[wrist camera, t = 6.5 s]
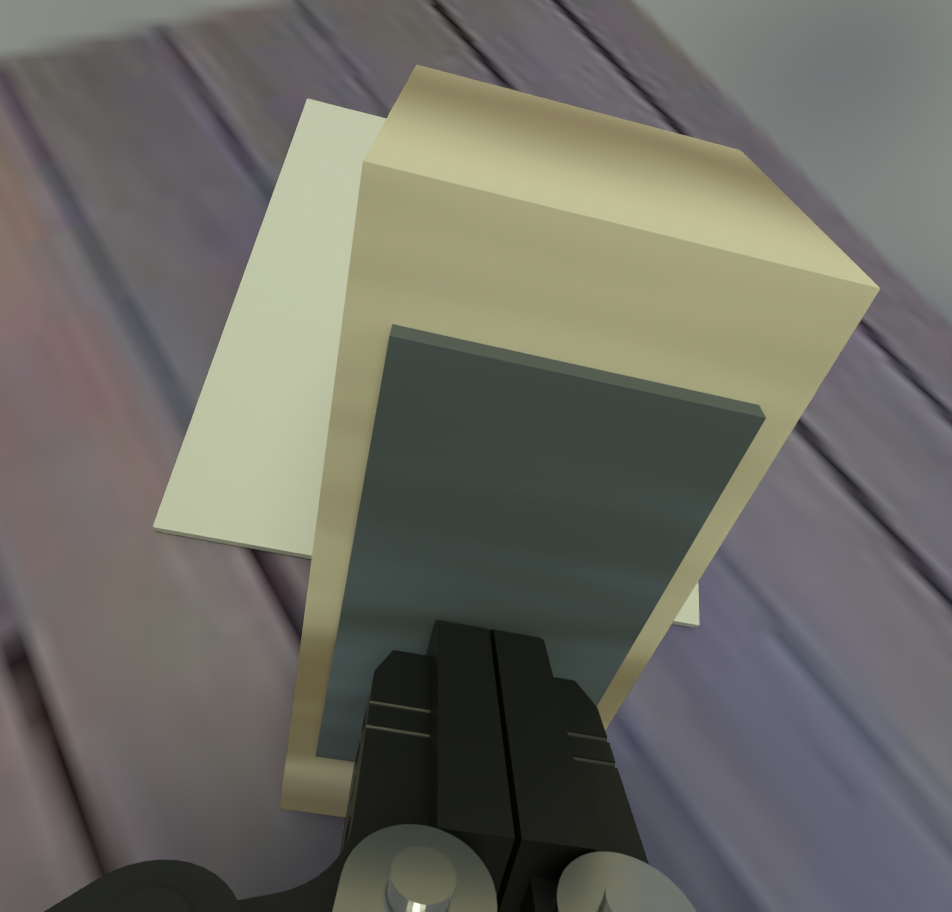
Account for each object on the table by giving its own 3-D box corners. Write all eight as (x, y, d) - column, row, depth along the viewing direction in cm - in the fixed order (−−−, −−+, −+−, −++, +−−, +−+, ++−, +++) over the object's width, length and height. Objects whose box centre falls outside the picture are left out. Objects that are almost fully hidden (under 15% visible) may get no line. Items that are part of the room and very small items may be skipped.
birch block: (535, 857, 14) (891, 299, 7) (276, 821, 13) (358, 168, 6) (527, 637, 18) (740, 150, 11) (330, 603, 17) (416, 64, 10)
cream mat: (693, 627, 19) (699, 625, 19) (155, 531, 17) (152, 527, 17) (684, 201, 26) (688, 195, 26) (307, 105, 25) (307, 98, 24)
